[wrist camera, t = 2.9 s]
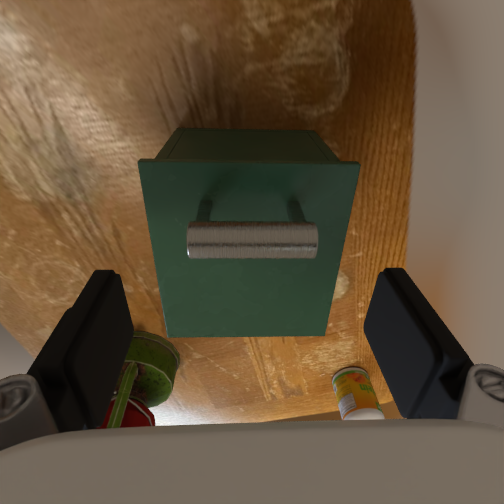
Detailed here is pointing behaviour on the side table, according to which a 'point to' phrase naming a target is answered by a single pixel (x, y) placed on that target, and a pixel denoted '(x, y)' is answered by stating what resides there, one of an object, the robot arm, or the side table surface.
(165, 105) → the side table surface
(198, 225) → the bin lid
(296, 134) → the bin
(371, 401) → the supplement bottle
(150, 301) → the side table surface
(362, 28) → the side table surface
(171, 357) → the lantern
